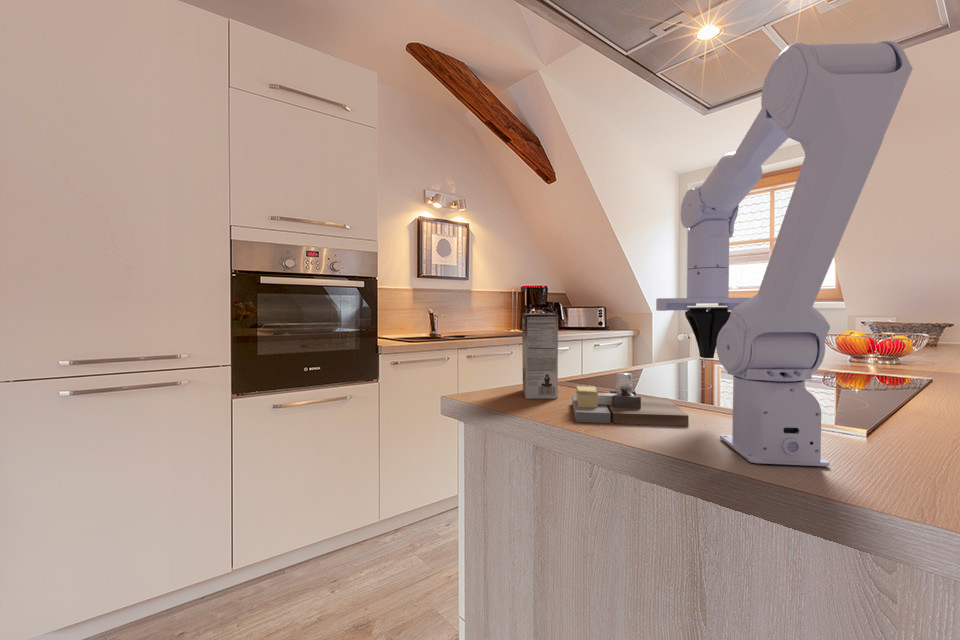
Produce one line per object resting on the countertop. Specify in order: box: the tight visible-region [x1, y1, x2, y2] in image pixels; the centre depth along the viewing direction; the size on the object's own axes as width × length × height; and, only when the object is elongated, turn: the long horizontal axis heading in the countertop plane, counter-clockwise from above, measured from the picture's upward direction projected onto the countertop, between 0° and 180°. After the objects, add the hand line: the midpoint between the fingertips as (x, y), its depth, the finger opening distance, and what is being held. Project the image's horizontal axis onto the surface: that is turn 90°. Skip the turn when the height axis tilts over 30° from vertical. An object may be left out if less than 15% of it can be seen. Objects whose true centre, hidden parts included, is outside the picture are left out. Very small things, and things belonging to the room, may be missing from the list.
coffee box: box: [521, 312, 559, 400], centre depth 87 cm, size 9×6×16 cm
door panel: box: [606, 389, 690, 427], centre depth 71 cm, size 12×11×3 cm
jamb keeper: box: [571, 384, 611, 424], centre depth 72 cm, size 12×5×4 cm, turn 171°
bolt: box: [577, 372, 635, 405], centre depth 72 cm, size 2×9×5 cm, turn 81°
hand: (706, 357), depth 68 cm, fingers closed
